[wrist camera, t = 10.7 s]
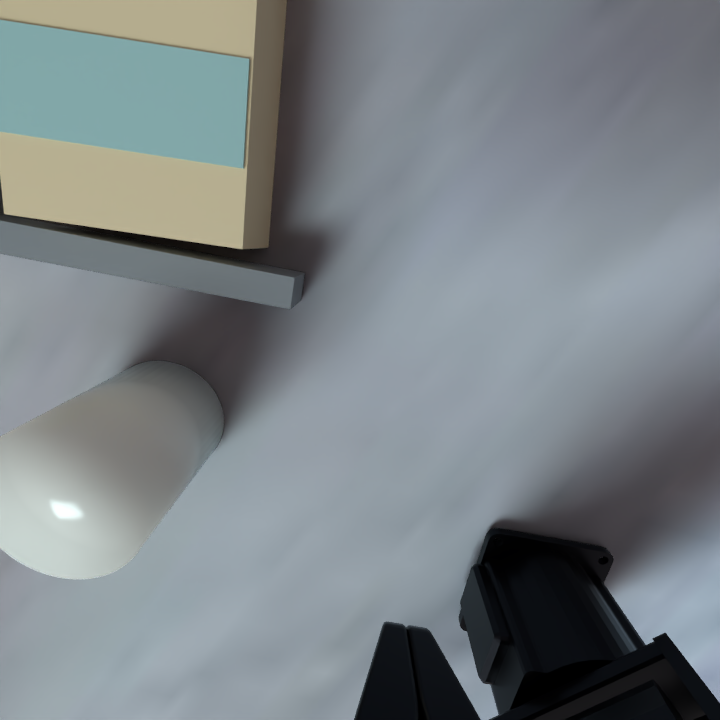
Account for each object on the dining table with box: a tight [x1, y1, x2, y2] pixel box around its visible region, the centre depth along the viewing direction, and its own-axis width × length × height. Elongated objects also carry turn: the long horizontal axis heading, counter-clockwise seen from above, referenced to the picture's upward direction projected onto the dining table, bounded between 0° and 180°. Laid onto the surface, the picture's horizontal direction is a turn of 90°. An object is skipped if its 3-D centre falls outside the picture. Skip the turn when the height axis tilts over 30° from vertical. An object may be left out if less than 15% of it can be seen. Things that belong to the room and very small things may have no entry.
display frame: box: [0, 179, 305, 309], centre depth 14 cm, size 14×16×2 cm
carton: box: [0, 0, 287, 249], centre depth 14 cm, size 8×12×4 cm, turn 172°
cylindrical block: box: [0, 361, 224, 579], centre depth 16 cm, size 6×6×7 cm
